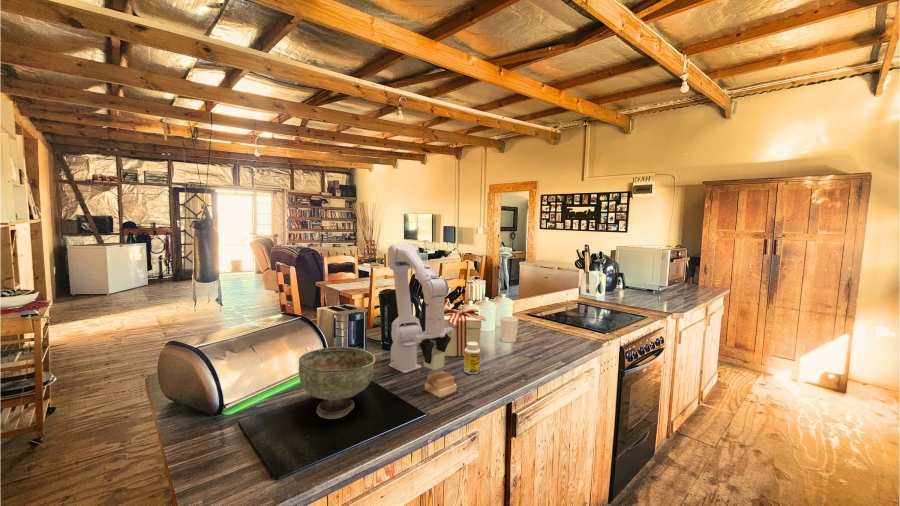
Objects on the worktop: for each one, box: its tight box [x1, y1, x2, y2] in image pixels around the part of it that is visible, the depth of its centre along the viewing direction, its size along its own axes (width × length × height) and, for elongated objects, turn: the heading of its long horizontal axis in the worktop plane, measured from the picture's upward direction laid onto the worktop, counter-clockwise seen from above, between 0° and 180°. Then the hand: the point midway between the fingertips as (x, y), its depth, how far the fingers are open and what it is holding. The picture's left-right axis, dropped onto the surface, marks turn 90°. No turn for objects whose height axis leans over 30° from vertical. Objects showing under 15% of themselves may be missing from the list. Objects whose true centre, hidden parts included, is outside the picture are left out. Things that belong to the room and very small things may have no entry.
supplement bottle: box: [463, 342, 481, 375], centre depth 130 cm, size 6×6×10 cm
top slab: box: [426, 370, 455, 390], centre depth 115 cm, size 6×6×2 cm
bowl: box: [298, 346, 376, 420], centre depth 102 cm, size 20×19×15 cm
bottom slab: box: [424, 382, 458, 398], centre depth 115 cm, size 7×7×2 cm
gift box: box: [444, 308, 487, 357], centre depth 149 cm, size 17×18×17 cm
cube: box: [423, 348, 445, 371], centre depth 115 cm, size 4×4×4 cm
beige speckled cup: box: [499, 315, 519, 344], centre depth 165 cm, size 8×8×10 cm
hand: (433, 360), depth 115 cm, fingers closed on cube, 4 cm apart
